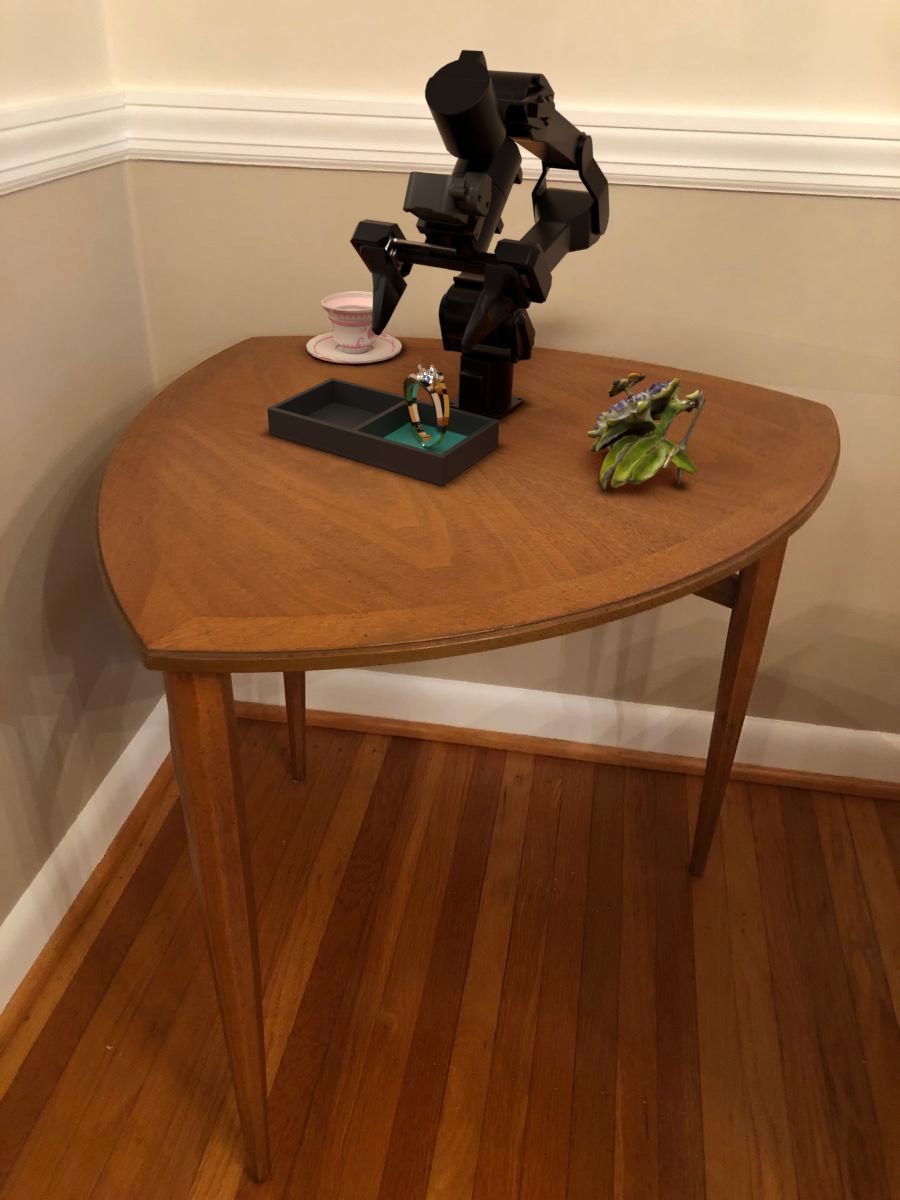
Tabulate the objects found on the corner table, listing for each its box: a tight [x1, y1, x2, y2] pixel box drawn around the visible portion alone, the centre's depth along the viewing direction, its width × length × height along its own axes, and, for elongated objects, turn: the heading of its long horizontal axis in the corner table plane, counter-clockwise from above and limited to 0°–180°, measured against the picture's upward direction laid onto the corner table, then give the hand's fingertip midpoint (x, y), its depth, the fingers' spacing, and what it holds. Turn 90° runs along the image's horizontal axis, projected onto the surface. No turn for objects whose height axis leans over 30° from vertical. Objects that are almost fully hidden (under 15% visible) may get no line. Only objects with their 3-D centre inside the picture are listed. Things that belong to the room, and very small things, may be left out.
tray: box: [266, 377, 500, 487], centre depth 95 cm, size 11×21×3 cm, turn 59°
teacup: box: [305, 290, 403, 365], centre depth 117 cm, size 12×12×6 cm
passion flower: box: [587, 372, 707, 491], centre depth 88 cm, size 11×11×12 cm
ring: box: [402, 364, 450, 447], centre depth 91 cm, size 7×3×8 cm, turn 25°
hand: (418, 341), depth 86 cm, fingers open, 9 cm apart
